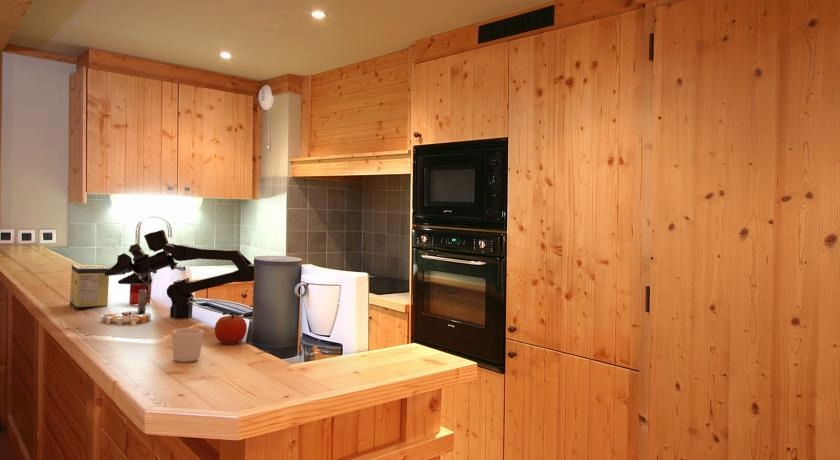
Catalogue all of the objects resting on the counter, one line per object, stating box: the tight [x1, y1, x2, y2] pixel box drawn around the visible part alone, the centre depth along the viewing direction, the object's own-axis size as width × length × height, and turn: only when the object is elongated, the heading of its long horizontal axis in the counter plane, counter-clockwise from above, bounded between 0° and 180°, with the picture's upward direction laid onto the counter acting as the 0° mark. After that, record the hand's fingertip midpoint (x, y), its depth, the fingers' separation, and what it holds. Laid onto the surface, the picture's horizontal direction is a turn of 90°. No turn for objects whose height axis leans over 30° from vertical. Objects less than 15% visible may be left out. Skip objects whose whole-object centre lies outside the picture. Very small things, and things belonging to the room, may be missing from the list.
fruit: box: [214, 310, 248, 345], centre depth 178 cm, size 10×10×10 cm
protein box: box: [69, 264, 110, 312], centre depth 221 cm, size 10×16×16 cm
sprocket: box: [100, 290, 152, 326], centre depth 196 cm, size 15×15×10 cm
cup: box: [171, 327, 205, 363], centre depth 157 cm, size 11×8×8 cm
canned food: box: [128, 283, 152, 305], centre depth 236 cm, size 8×8×11 cm
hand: (111, 278), depth 205 cm, fingers open, 9 cm apart
